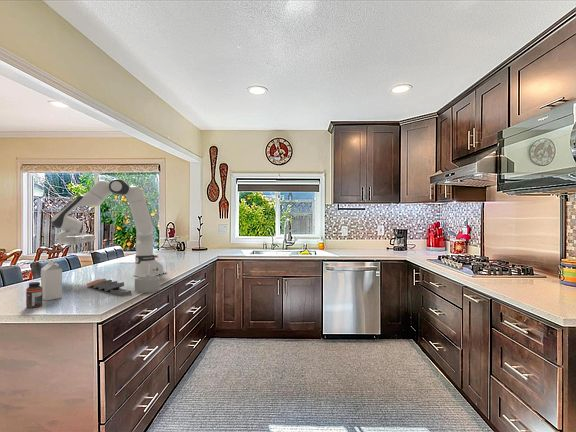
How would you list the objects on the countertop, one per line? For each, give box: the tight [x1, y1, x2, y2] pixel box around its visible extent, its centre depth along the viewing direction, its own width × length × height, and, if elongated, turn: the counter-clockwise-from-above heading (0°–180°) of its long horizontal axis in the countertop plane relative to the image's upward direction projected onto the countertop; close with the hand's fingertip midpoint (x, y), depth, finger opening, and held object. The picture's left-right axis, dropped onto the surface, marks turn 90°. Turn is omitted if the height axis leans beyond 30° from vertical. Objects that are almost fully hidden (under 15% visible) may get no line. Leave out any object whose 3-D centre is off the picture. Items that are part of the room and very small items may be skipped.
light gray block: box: [134, 274, 161, 293], centre depth 188 cm, size 10×13×9 cm
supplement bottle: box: [25, 281, 43, 309], centre depth 153 cm, size 6×6×11 cm
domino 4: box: [110, 287, 132, 297], centre depth 179 cm, size 2×5×12 cm
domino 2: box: [97, 280, 118, 291], centre depth 186 cm, size 2×5×12 cm
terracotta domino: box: [86, 278, 107, 288], centre depth 194 cm, size 2×5×12 cm
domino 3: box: [103, 281, 125, 292], centre depth 183 cm, size 2×5×12 cm
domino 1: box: [92, 279, 113, 289], centre depth 190 cm, size 2×5×12 cm
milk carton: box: [40, 260, 63, 302], centre depth 168 cm, size 7×7×19 cm
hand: (82, 239), depth 207 cm, fingers closed
